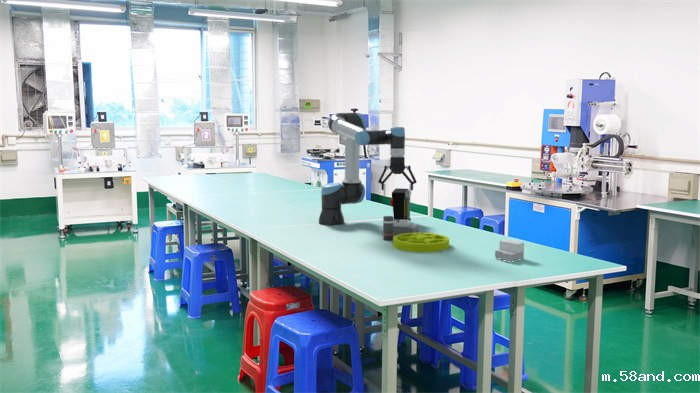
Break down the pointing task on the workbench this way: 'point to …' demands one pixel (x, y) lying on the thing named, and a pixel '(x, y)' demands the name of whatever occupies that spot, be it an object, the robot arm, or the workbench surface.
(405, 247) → the pulley
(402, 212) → the electrical component
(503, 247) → the foam block
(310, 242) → the workbench surface
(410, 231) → the plate with octagonal ring
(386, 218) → the lens
